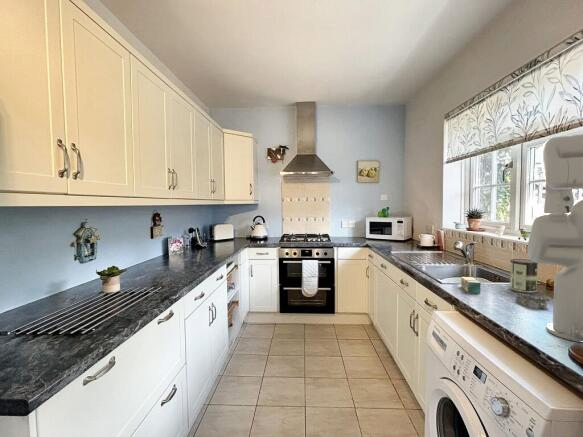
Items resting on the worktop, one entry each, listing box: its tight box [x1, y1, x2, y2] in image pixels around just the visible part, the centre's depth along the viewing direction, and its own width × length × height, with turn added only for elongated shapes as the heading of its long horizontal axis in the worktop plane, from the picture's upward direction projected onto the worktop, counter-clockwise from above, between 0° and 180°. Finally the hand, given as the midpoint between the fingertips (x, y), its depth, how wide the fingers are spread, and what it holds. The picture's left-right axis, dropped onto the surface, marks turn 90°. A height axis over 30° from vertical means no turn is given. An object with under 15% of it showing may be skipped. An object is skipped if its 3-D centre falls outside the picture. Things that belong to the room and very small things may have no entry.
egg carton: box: [513, 292, 550, 310], centre depth 119 cm, size 11×8×4 cm
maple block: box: [460, 276, 481, 294], centre depth 139 cm, size 5×5×10 cm
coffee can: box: [509, 258, 539, 294], centre depth 138 cm, size 10×10×14 cm
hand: (556, 236), depth 111 cm, fingers closed
